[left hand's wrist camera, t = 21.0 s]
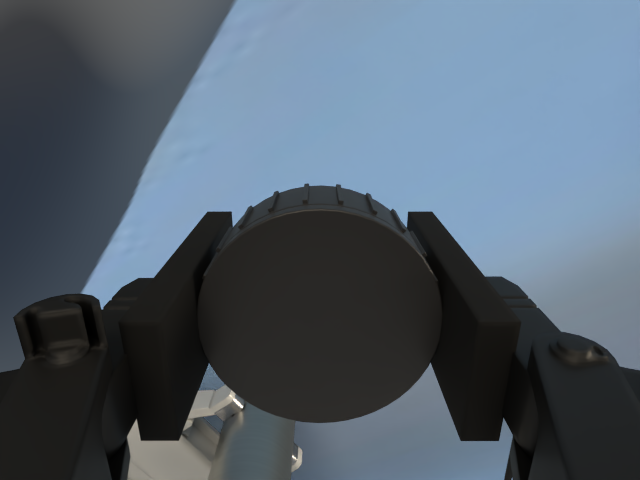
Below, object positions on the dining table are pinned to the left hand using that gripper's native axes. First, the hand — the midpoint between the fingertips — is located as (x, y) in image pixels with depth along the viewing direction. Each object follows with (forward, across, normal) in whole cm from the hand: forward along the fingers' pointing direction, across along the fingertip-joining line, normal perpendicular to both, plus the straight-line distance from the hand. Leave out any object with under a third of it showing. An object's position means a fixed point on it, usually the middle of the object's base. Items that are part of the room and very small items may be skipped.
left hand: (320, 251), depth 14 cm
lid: (-4, 0, 0) cm, 4 cm away
